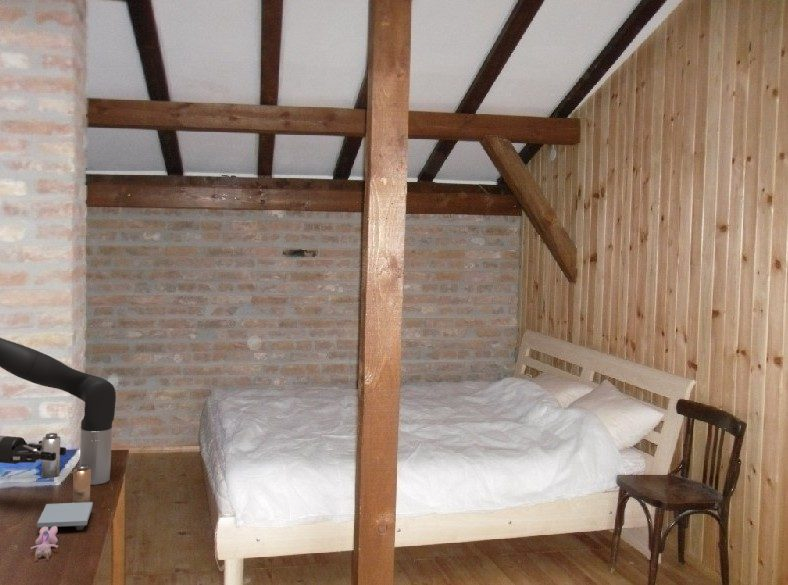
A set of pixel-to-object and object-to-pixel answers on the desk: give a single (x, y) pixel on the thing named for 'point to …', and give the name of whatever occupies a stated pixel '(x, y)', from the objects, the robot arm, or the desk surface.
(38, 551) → the rabbit figure
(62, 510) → the grey square platform
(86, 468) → the copper canister
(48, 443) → the steel canister
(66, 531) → the desk surface
